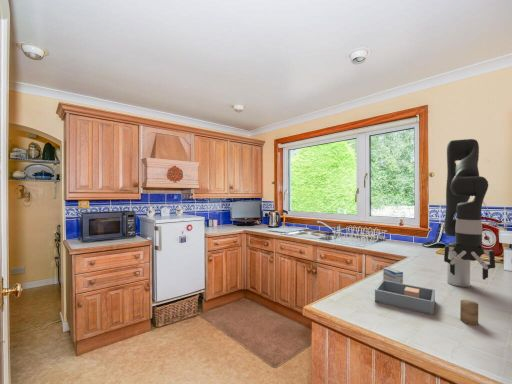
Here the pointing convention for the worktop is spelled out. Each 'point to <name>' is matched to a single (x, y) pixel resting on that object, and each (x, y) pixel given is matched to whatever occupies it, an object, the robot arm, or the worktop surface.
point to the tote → (405, 297)
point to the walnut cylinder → (469, 312)
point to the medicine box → (392, 275)
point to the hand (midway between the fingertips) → (468, 276)
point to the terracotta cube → (411, 292)
